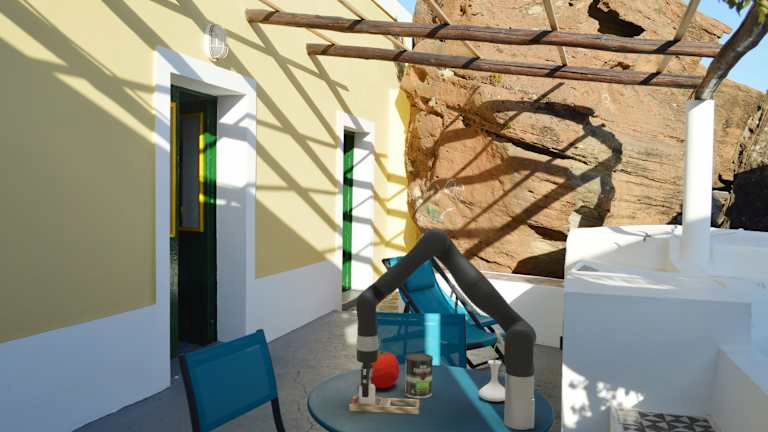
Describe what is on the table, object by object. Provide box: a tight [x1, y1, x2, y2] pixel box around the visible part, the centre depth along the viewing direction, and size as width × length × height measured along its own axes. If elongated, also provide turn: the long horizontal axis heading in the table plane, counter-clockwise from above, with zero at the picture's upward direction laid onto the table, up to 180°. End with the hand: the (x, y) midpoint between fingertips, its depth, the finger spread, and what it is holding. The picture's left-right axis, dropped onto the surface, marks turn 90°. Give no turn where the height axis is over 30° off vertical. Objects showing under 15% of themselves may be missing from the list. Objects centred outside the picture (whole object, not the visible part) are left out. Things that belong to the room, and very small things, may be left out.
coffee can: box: [404, 352, 434, 399], centre depth 228 cm, size 10×10×14 cm
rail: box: [348, 395, 421, 415], centre depth 213 cm, size 24×8×2 cm, turn 84°
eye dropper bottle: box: [358, 380, 376, 404], centre depth 214 cm, size 4×6×12 cm
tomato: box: [372, 348, 400, 389], centre depth 234 cm, size 16×14×14 cm
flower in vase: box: [477, 329, 505, 402], centre depth 224 cm, size 13×11×25 cm
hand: (366, 392), depth 214 cm, fingers open, 8 cm apart
